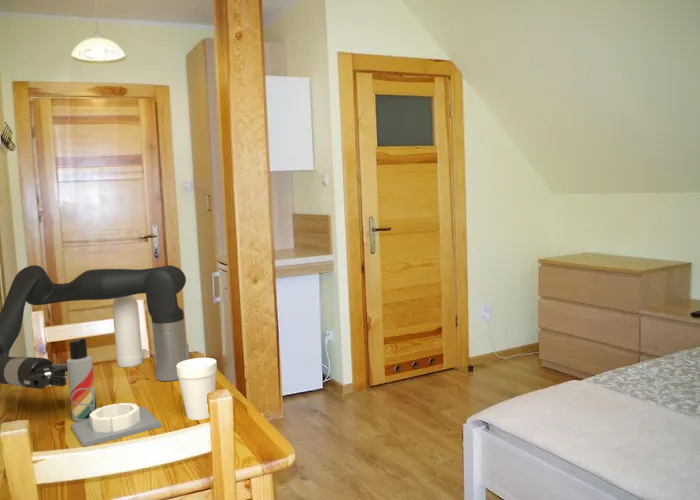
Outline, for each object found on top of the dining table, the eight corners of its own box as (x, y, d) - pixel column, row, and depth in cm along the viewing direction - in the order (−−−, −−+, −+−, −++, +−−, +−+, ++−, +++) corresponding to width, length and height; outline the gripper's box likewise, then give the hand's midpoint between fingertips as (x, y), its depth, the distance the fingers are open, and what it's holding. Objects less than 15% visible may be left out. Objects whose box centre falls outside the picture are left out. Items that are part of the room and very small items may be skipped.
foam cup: (184, 409, 151) (181, 359, 150) (222, 406, 152) (218, 356, 151) (177, 423, 142) (173, 370, 140) (217, 420, 143) (213, 367, 141)
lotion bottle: (88, 422, 145) (80, 342, 143) (67, 421, 146) (59, 341, 144) (102, 413, 151) (94, 336, 149) (82, 413, 152) (74, 336, 150)
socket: (143, 410, 152) (142, 395, 151) (161, 426, 140) (159, 410, 140) (71, 428, 142) (69, 411, 142) (83, 447, 131) (81, 429, 130)
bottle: (116, 363, 197) (107, 273, 194) (141, 359, 201) (133, 270, 198) (118, 369, 190) (110, 275, 187) (144, 364, 194) (136, 272, 191)
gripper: (52, 377, 160) (101, 381, 155) (6, 395, 147) (56, 400, 141) (50, 350, 159) (98, 353, 154) (2, 365, 146) (53, 369, 140)
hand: (78, 375), depth 147 cm, fingers open, 8 cm apart
